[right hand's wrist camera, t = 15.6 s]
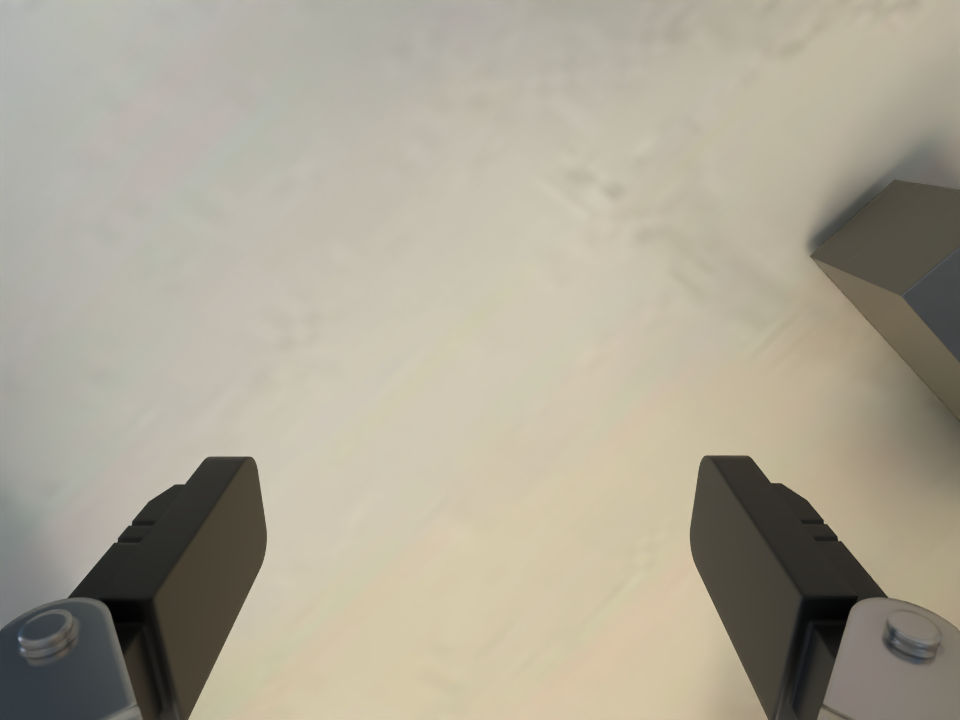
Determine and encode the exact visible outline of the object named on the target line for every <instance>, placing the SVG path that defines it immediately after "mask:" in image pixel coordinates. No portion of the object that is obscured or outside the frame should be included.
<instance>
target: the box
mask: <svg viewBox="0 0 960 720" xmlns="http://www.w3.org/2000/svg"><path fill="white" fill-rule="evenodd" d="M810 257H811V259H812V260H813V261H814V262H815V263H816V264H817V265H818V266H819V267H820V268H821V270H822V271H823V272H824V273H825V274H826V275H827V276H828V277H829V278H830V280H831V281H832V282H833V283H834V284H835V285H836V286H837V287H838V288H839V289H840V291H841V292H842V293H843V294H844V295H845V296H846V297H847V298H848V299H849V300H850V302H851V303H852V304H853V305H854V306H855V307H856V308H857V309H858V310H859V311H860V313H861V314H862V315H863V316H864V317H865V318H866V319H867V320H868V321H869V322H870V324H871V325H872V326H873V327H874V328H875V329H876V330H877V331H878V332H879V333H880V335H881V336H882V337H883V338H884V339H885V340H886V341H887V342H888V343H889V344H890V346H891V347H892V348H893V349H894V350H895V351H896V352H897V353H898V354H899V355H900V357H901V358H902V359H903V360H904V361H905V362H906V363H907V364H908V365H909V366H910V368H911V369H912V370H913V371H914V372H915V373H916V374H917V375H918V376H919V377H920V379H921V380H922V381H923V382H924V383H925V384H926V385H927V386H928V387H929V388H930V390H931V391H932V392H933V393H934V394H935V395H936V396H937V397H938V398H939V399H940V401H941V402H942V403H943V404H944V405H945V406H946V407H947V408H948V409H949V410H950V412H951V413H952V414H953V415H954V416H955V417H956V418H957V419H958V420H959V421H960V190H957V189H950V188H944V187H938V186H931V185H925V184H919V183H912V182H906V181H900V180H894V181H893V182H892V183H891V184H889V185H888V186H887V187H886V188H885V189H884V190H883V191H882V192H880V193H879V194H878V195H877V196H876V197H875V198H874V199H873V200H872V201H870V202H869V203H868V204H867V205H866V206H865V207H864V208H863V209H862V210H860V211H859V212H858V213H857V214H856V215H855V216H854V217H853V218H852V219H850V220H849V221H848V222H847V223H846V224H845V225H844V226H843V227H842V228H840V229H839V230H838V231H837V232H836V233H835V234H834V235H833V236H831V237H830V238H829V239H828V240H827V241H826V242H825V243H824V244H823V245H821V246H820V247H819V248H818V249H817V250H816V251H815V252H814V253H813V254H811V255H810Z"/></svg>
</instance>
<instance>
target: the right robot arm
mask: <svg viewBox="0 0 960 720" xmlns="http://www.w3.org/2000/svg"><path fill="white" fill-rule="evenodd" d="M266 543H267V530H266V523H265V516H264V509H263V503H262V496H261V489H260V482H259V476H258V469H257V465H256V462H255V460H254V459H253V458H252V457H207V458H206V459H205V460H204V461H203V462H202V463H201V465H200V466H199V467H198V468H197V470H196V471H195V472H194V474H193V475H192V476H191V477H190V479H189V480H188V481H187V482H186V484H185V485H174V486H172V487H171V488H169V489H168V490H166V491H165V492H163V493H161V494H160V495H158V496H157V497H155V498H154V499H152V500H151V501H149V502H148V503H147V505H146V506H145V507H144V508H143V509H142V510H141V512H140V513H139V514H138V515H137V516H136V518H135V519H134V520H133V521H132V526H128V527H127V528H126V529H125V531H124V532H123V533H122V534H121V535H120V537H119V538H118V542H117V543H114V544H113V545H112V546H111V547H110V548H109V550H108V551H107V552H106V553H105V554H104V556H103V557H102V558H101V559H100V560H99V562H98V563H97V564H96V565H95V566H94V567H93V569H92V570H91V571H90V572H89V573H88V575H87V576H86V577H85V578H84V579H83V581H82V582H81V583H80V584H79V585H78V586H77V588H76V589H75V590H74V591H73V592H72V594H71V595H70V596H69V597H68V598H67V599H62V600H58V601H54V602H51V603H48V604H45V605H42V606H40V607H37V608H35V609H32V610H31V611H29V612H27V613H25V614H23V615H21V616H19V617H18V618H16V619H15V620H13V621H12V622H10V623H9V624H8V625H6V626H5V627H4V628H3V629H1V630H0V720H188V719H189V716H190V714H191V712H192V710H193V708H194V706H195V704H196V702H197V700H198V698H199V696H200V693H201V691H202V689H203V687H204V685H205V683H206V681H207V679H208V677H209V675H210V673H211V670H212V668H213V666H214V664H215V662H216V660H217V658H218V656H219V654H220V652H221V650H222V647H223V645H224V643H225V641H226V639H227V637H228V635H229V633H230V631H231V629H232V627H233V624H234V622H235V620H236V618H237V616H238V614H239V612H240V610H241V608H242V606H243V604H244V601H245V599H246V597H247V595H248V593H249V591H250V589H251V587H252V585H253V583H254V580H255V578H256V576H257V574H258V572H259V570H260V568H261V566H262V563H263V560H264V556H265V551H266ZM690 544H691V551H692V556H693V560H694V563H695V565H696V567H697V569H698V571H699V574H700V576H701V578H702V580H703V582H704V584H705V586H706V588H707V591H708V593H709V595H710V597H711V599H712V601H713V603H714V605H715V607H716V610H717V612H718V614H719V616H720V618H721V620H722V622H723V624H724V627H725V629H726V631H727V633H728V635H729V637H730V639H731V641H732V643H733V646H734V648H735V650H736V652H737V654H738V656H739V658H740V660H741V663H742V665H743V667H744V669H745V671H746V673H747V675H748V677H749V679H750V682H751V684H752V686H753V688H754V690H755V692H756V694H757V696H758V699H759V701H760V703H761V705H762V707H763V709H764V711H765V713H766V715H767V718H768V720H960V630H959V629H957V628H956V627H955V626H954V625H952V624H951V623H950V622H948V621H947V620H945V619H944V618H942V617H941V616H939V615H937V614H935V613H933V612H931V611H929V610H928V609H925V608H923V607H920V606H918V605H915V604H912V603H909V602H906V601H902V600H898V599H892V598H888V597H887V596H886V594H885V593H884V592H883V591H882V590H881V588H880V587H879V586H878V585H877V584H876V582H875V581H874V580H873V579H872V578H871V576H870V575H869V574H868V573H867V572H866V570H865V569H864V568H863V567H862V566H861V564H860V563H859V562H858V561H857V560H856V558H855V557H854V556H853V555H852V554H851V552H850V551H849V550H848V549H847V548H846V546H845V545H844V544H843V543H842V542H841V541H838V539H837V536H836V535H835V533H834V532H833V531H832V530H831V529H830V527H829V526H828V525H827V524H824V520H823V519H822V518H821V517H820V515H819V514H818V513H817V512H816V511H815V509H814V508H813V507H812V506H811V505H810V503H809V502H808V501H807V500H806V499H804V498H803V497H801V496H800V495H798V494H796V493H795V492H793V491H792V490H790V489H789V488H787V487H786V486H784V485H783V484H781V483H770V481H769V480H768V479H767V477H766V476H765V475H764V474H763V472H762V471H761V470H760V468H759V467H758V466H757V465H756V463H755V462H754V461H753V459H752V458H751V457H749V456H704V457H703V459H702V460H701V463H700V467H699V472H698V479H697V486H696V493H695V500H694V506H693V513H692V520H691V527H690Z"/></svg>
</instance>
